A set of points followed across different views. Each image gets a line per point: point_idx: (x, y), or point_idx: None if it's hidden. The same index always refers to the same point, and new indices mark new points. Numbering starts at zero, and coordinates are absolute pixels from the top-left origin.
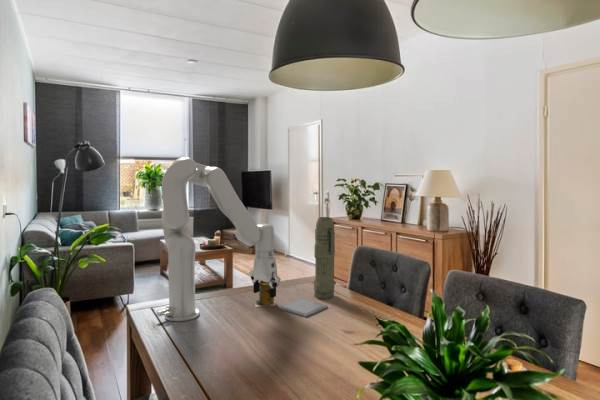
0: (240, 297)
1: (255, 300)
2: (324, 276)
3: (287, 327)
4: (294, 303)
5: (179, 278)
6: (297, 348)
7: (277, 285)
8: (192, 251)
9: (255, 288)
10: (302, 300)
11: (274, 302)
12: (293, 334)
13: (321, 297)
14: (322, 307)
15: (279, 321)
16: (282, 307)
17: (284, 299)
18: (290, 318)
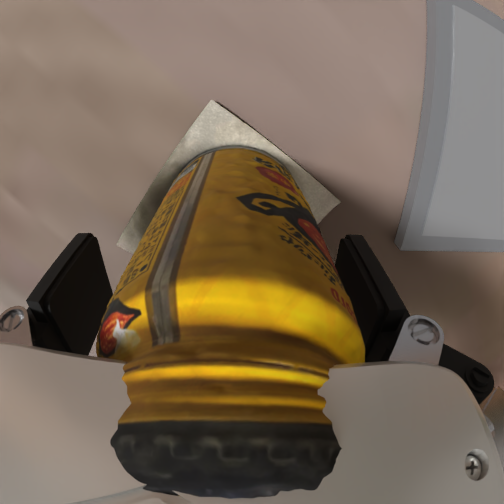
0: (14, 246)
1: (122, 234)
2: None
3: (479, 345)
4: (467, 125)
5: None
6: (501, 377)
7: (457, 358)
8: None
9: (95, 322)
10: (476, 33)
11: (279, 150)
12: (495, 355)
13: None
14: None
15: (447, 338)
16: (425, 239)
17: (295, 20)
18: (481, 293)
